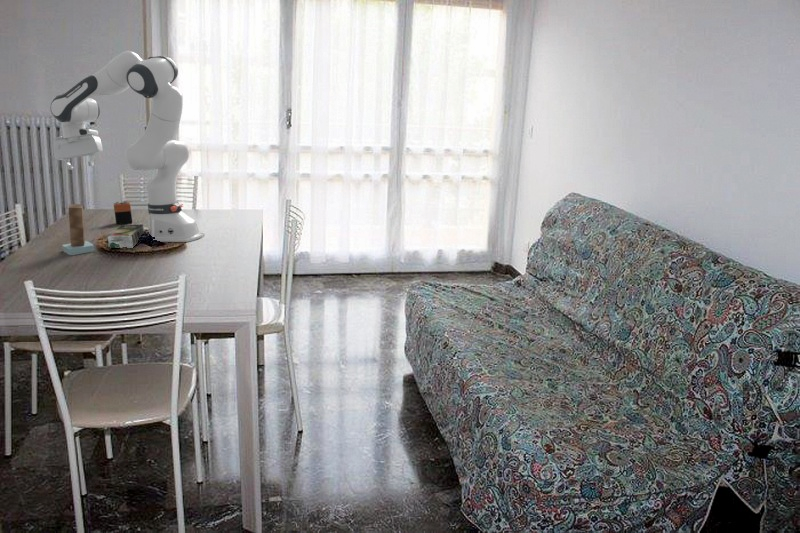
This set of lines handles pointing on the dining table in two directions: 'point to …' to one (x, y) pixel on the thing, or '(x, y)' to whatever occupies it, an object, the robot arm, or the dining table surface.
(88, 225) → the dining table surface
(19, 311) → the dining table surface
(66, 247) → the teal block
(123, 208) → the battery
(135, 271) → the dining table surface
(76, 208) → the walnut post
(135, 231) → the juice carton
